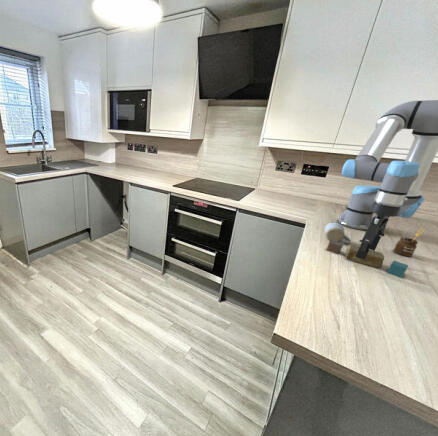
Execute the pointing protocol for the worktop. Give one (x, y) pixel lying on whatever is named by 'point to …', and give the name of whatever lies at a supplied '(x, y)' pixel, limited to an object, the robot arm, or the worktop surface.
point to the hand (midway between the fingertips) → (365, 253)
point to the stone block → (371, 258)
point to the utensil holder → (407, 245)
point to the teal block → (397, 268)
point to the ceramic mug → (336, 232)
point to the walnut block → (334, 246)
